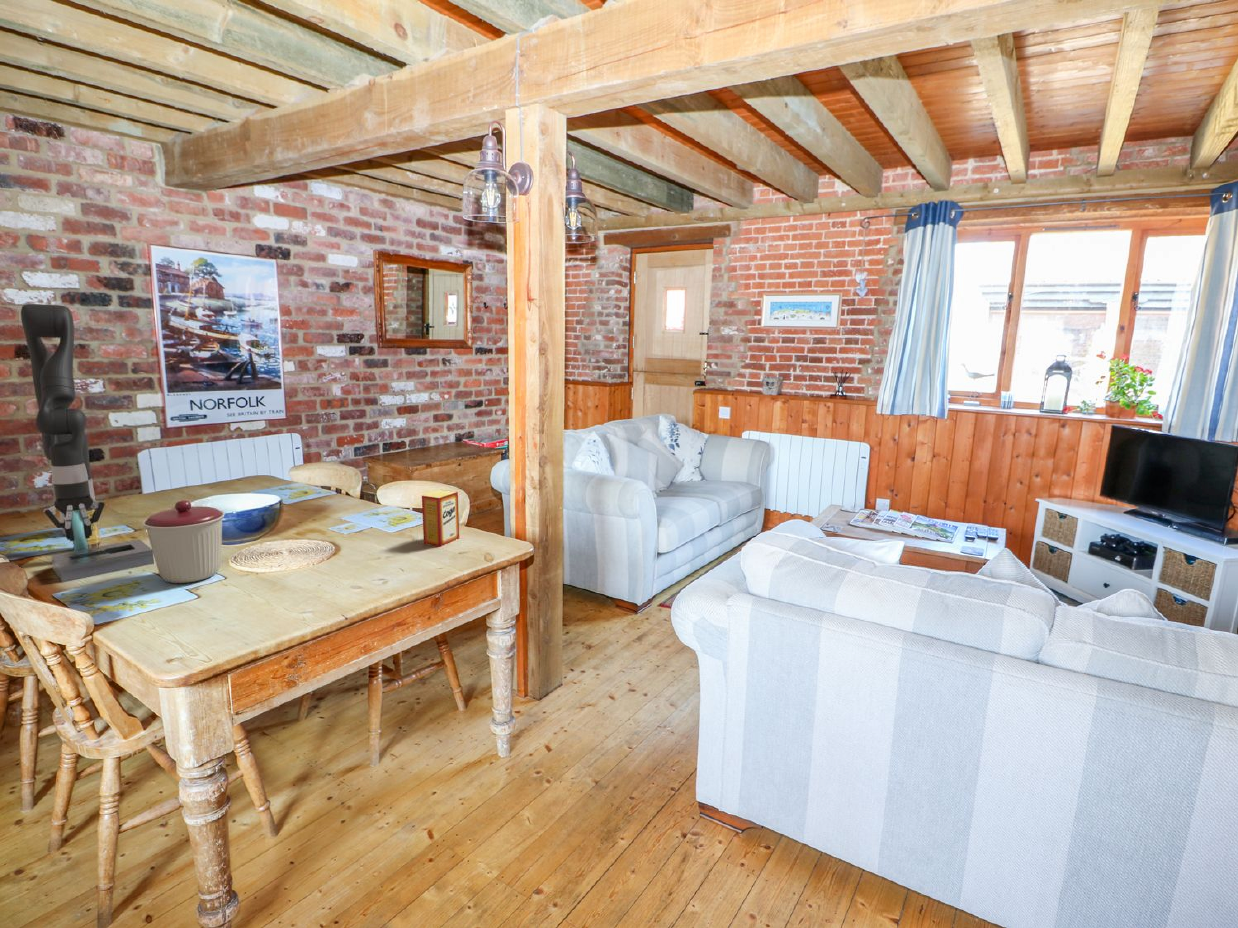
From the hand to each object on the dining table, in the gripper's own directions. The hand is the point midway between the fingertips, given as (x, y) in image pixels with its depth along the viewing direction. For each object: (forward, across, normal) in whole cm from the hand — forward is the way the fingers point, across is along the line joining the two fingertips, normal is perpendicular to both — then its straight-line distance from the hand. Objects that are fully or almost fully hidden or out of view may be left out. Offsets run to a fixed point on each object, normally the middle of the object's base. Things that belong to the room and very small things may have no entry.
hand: (79, 538), depth 183 cm
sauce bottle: (+6, -3, -11) cm, 13 cm away
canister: (+6, -17, +37) cm, 41 cm away
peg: (+6, 0, 0) cm, 6 cm away
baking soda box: (+6, -81, +58) cm, 100 cm away
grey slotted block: (+6, -3, +11) cm, 13 cm away
